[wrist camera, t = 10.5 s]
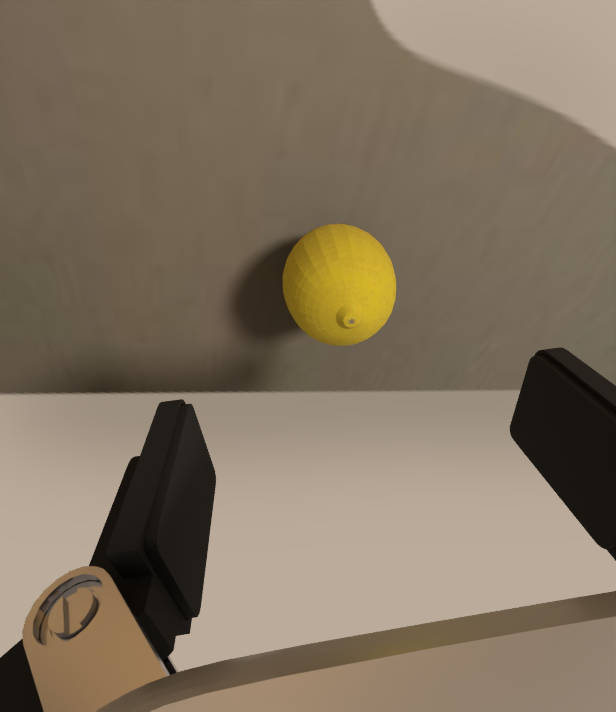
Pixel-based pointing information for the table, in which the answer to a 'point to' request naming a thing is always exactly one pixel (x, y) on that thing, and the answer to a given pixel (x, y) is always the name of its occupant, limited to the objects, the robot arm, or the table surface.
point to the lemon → (339, 284)
